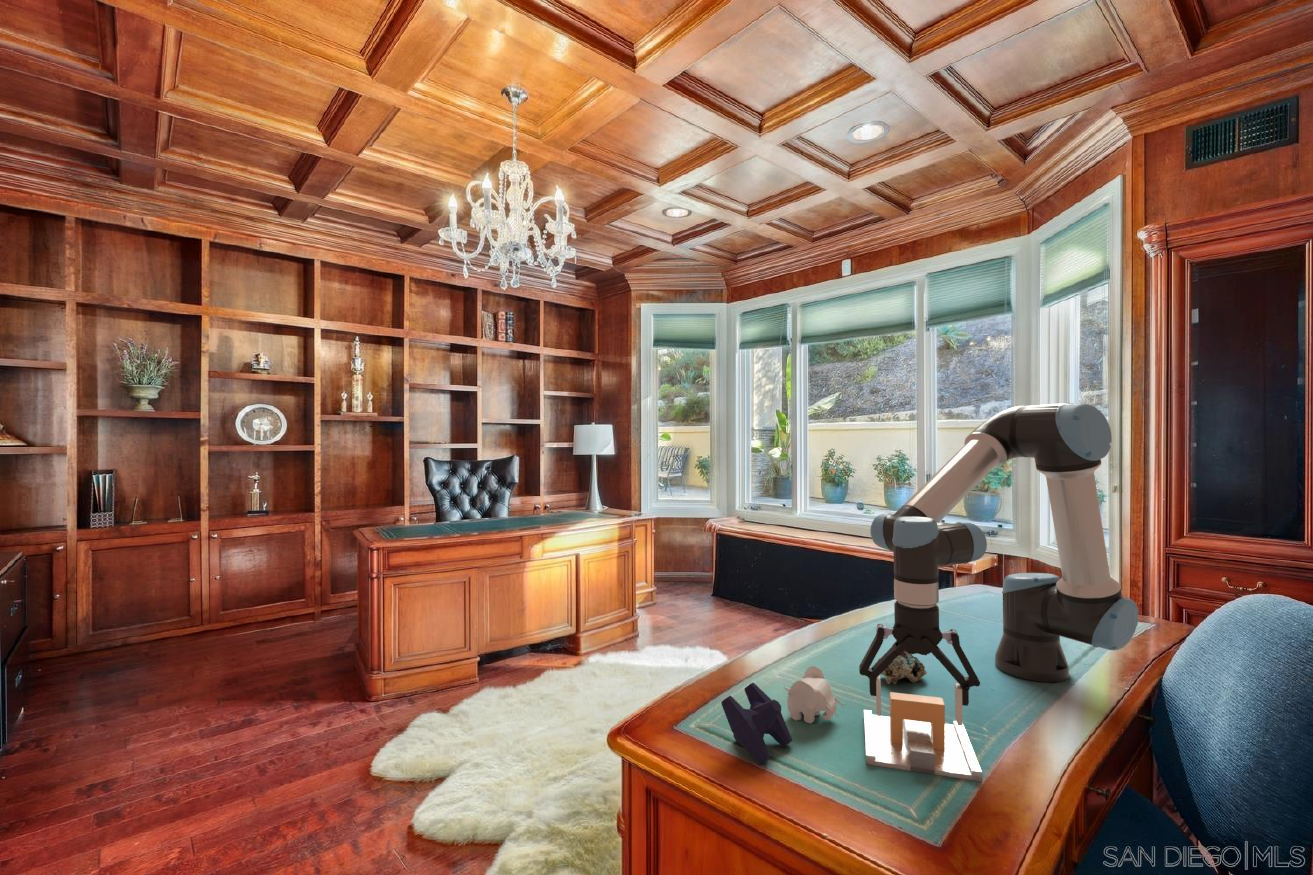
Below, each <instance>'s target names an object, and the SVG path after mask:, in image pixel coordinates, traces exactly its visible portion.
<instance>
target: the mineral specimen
mask: <svg viewBox="0 0 1313 875" xmlns="http://www.w3.org/2000/svg"><path fill="white" fill-rule="evenodd" d="M878 661H879V659H878V660H877V661H876V662H875V663H874V665H875V664H876V663H877V662H878ZM927 674H928V672H927V670H926V669H925V665H924V663H922V661H920V660H919V658H918V657H917V656H914V655H913V654H908V653H907V652H906V651H904V652H903V653H902V654H901V655H900V656H898V657H897V658H896V659H895V660H894V661H893V662H892V663H891V664H890V665H889V666H888V667H887V668H886V669H885V670H884V671H883V672H882V673H881V674H880V675H883V677H885V682H886V683H887V684H888V685H890V684H892V683H893V685H896V684H897V683H898V681H899V680H902V679H905V678H906V679H908V681H909V682H911V683H913V684H915V683H916V682H918V681H920V680H921V679H922V678H923V677H924V676H925V675H927Z"/></svg>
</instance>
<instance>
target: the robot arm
mask: <svg viewBox="0 0 1313 875" xmlns="http://www.w3.org/2000/svg"><path fill="white" fill-rule="evenodd" d="M1112 441H1113V440H1112V430H1111V427H1110V424H1109V421H1108V419H1107V417H1106V416H1105V415H1104V413H1103V412H1102V411H1101V410H1100V409H1098V408H1097V407H1096V406H1094V405H1092V404H1089V403H1074V402H1073V403H1071V402H1064V403H1062V402H1061V403H1048V404H1035V405H1034V404H1033V405H1016V406H1013V407H1009V408H1007V409H1004V410H1002V411H1000V412H998V413H996V414H994V415H993V416H991V417H990V418H988V419H987V420H985V421H983V422H982V423H981V424H979V425H978V426H977V427H976V428H975V429H974V430H972V431H971V432H969V434H968V435H967V436H966V437H965V439H964V443H963V444H964V445H963V447H961V448H960V449H959V450H958V451H957V452H956V453H955V454H954V455H953V456H952V457H951V458H950V459H949V460H948V461H947V462H946V463H945V464H944V465H943V466H941V468H939V470H938V471H937V472H936V473H935V474H933V476H931V478H929V479H928V480H927V481H926V482H925V483H924V484H923V485H922V487H920V488H919V489H917V491H916V492H915V493H913V495H912V496H911V497H910V498H909V499H908V500H907V501H906V502H905V503H904V504H903V505H902V506H901V507H899V509H897V511H895V513H888V512H887V513H881V514H878V515H877V516H875V517H874V518H873V521H872V522H871V526H870V537H871V539H872V541H873V543H874V544H875V545H876V546H877V547H879V548H881V549H884V550H888V551H890V552H892V553H893V591H894V592H893V594H894V595H893V598H894V599H895V602H894V604H893V607H894V614H893V615H894V624H893V627H890V626H884V625H883V624H882V623H878V624H877V625H876V632H875V636H874V638H873V640H872V642H871V644H870V645H869V647H868V649H867V651H866V653H865V655H864V657H863V659H861V660H862V661H861V662H860V664H859V666H858V671H859V675H860V676H866V677H867V678H868V679H869V681H868V682H869V683H868V684H869V694H870V696H871V697H872V696H873V697H875V708H876V712H875V713H876V715H877V716H882V694H881V693H882V692H881V691H882V688H881V686H882V681H881V675H882V674H881V673H882V672H883V671H884V670H885V669H886V668H887V667H888V666H889V665H890V664H891V663H892V662H893V661H894V660H895V659H896V658H897V657H898V656H900V655H901V654H902V653H903V652H904V651H906V652H907V653H908V654H912V655H917V654H918V655H921V656H927V655H930V654H932V655H933V656H934V658H935V659H936V660H938V661H939V663H941V664H940V665H942V666H943V668H945V669H946V671H947V672H948V673H949V674H950V675H951V676H952V677H953V679H954V680H955V681H956V682H954V701H955V702H954V708H955V710H954V711H955V712H954V713H955V714H954V716H955V721H957V724H958V725H960V726H963V725H964V723H963V721H964V720H963V707H964V706H965V707H968V706H969V702H970V696H969V695H970V694H969V692H970V688H972V687H980V686H981V682H980V680H979V678H978V676H977V673H976V672H975V671H974V669H973V667H972V665H971V663H970V661H969V659H968V658H967V656H966V653H965V652H964V650H963V648H962V647H961V642H960V636H959V634H958V632H957V630H956V629H955V628H951V629H949V630H948V631H947V630H946V631H945V630H944V631H942V630H940V608H939V607H940V606H938V603H939V602H940V599H939V598H940V596H939V591H940V590H939V588H940V587H939V568H940V567H941V568H943V567H948V566H955V565H966V564H969V563H971V562H975V561H977V560H978V561H979V560H980V559H981V558H983V557H984V555H985V554H986V551H987V548H988V547H987V545H988V543H987V536H986V535H985V533H984V531H983V530H982V529H981V528H980V527H979V526H978V525H976V524H975V523H971V522H962V521H961V522H959V521H958V522H955V523H949V522H941V521H942V520H943V519H944V518H945V517H946V516H947V515H948V514H949V513H950V512H951V511H952V510H953V509H954V508H955V507H956V506H957V505H958V504H959V503H960V502H961V501H962V500H963V499H964V498H965V496H967V495H968V494H969V493H970V492H971V491H972V490H973V489H974V488H975V486H977V485H978V484H979V483H980V482H981V480H983V478H985V477H986V476H987V475H988V474H989V473H990V471H992V469H997V468H1000V467H1002V466H1003V465H1004V464H1006V463H1007V461H1009V460H1012V459H1017V458H1032V459H1033V458H1034V462H1035V469H1036V470H1037V472H1039V473H1041V474H1043V475H1044V476H1045V478H1046V485H1047V492H1048V497H1049V502H1050V509H1051V516H1052V522H1053V527H1054V533H1055V534H1054V535H1055V540H1056V545H1057V551H1058V558H1059V563H1060V564H1059V565H1060V570H1061V575H1062V576H1061V578H1060V576H1059V575H1056V574H1055V573H1047V572H1046V573H1044V572H1019V573H1018V572H1017V573H1012V574H1008V575H1006V576H1005V577H1004V579H1003V583H1002V584H1003V585H1002V591H1001V594H1002V637H1001V638H1000V641H999V644H998V646H997V648H996V652H995V654H994V665H995V666H996V668H997V669H998V670H1000V671H1001V672H1003V673H1005V674H1008V675H1011V676H1013V677H1016V678H1020V679H1024V680H1028V681H1034V682H1040V683H1058V682H1064V681H1066V680H1068V679H1069V677H1070V666H1069V664H1068V661H1067V658H1066V655H1065V653H1064V649H1063V647H1062V645H1061V639H1060V638H1061V637H1062V638H1066V639H1069V640H1073V641H1075V642H1080V643H1084V644H1087V645H1090V646H1092V647H1093V648H1101V649H1105V650H1110V651H1119V650H1121V649H1124V648H1125V647H1126V646H1127V645H1128V644H1129V643H1130V641H1131V640H1132V638H1133V637H1134V634H1135V632H1136V630H1137V626H1138V622H1139V608H1138V605H1137V603H1136V602H1135V601H1134V600H1133V599H1131V598H1129V597H1127V596H1124V597H1123V594H1122V587H1121V584H1120V582H1118V581H1117V580H1116V579H1114V578H1113V577H1111V574H1110V568H1109V560H1108V555H1107V549H1106V540H1105V534H1104V528H1103V522H1102V516H1101V508H1100V503H1099V497H1098V490H1097V485H1096V478H1095V472H1096V470H1097V469H1099V467H1100V466H1101V465H1102V459H1103V458H1105V457H1106V456H1107V455H1108V454H1109V452H1110V449H1111V447H1112V446H1111V445H1110V444H1111V443H1112ZM891 635H892V637H893V638H894V639H895V640H896V641H895V642H893V644H892V646H891V647H890V648H889V649H888V650H887V651H886V652H885V653H884V654H883V655H882V656H881V657H880V658H878V660H879V661H878V660H877V661H878V662H877V661H876V662H877V663H876V662H875V663H876V664H875V663H874V664H873V665H872V663H873V662H874V660H875V658H876V656H877V654H878V652H879V650H880V649H881V647H882V645H883V643H884V640H887V639H888V638H889V636H891ZM942 640H945V641H946V643H947V644H948V645H952V647H953V650H954V652H955V654H956V656H957V658H958V659H959V661H960V662H961V665H962V667H963V668H964V670H965V672H966V674H967V676H964V675H963V674H962V673H961V671H960V670H959V668H957V667H956V666H955V665H954V664H953V662H952V661H951V660H950V659H949V658H948V657H947V656H946V654H945V653H944V652H943V651H942V649H941V648H940V647H939V646H938V645H939V644H940V643H941V641H942Z"/></svg>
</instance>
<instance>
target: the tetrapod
mask: <svg viewBox="0 0 1313 875" xmlns="http://www.w3.org/2000/svg"><path fill="white" fill-rule="evenodd" d="M743 690H744V693H745V695H746V698H747V701H748V703H749V704H750V707H749V708H744V707H743V706H742V705H741V704H740V703H739V702H738V701H737V700H736V699H735V698H734V697H733V696H731V695H729V696H727V697H726V698H724V699H723V700H721V702H720V703H721V706H722V710H723V711H724V714H725V717H726V719H727V723H728V725H729V727H730V730H731V732H732V734H733V738H734V741H736V742H738V743H739V744H740V746H741V747H743V749H745V750H746V751H747V753H748V754H750V755H751V756H752V758H753V759H754V760H756V762H757V763H758V764H759V765H763V764H764V763H765V762H767V761H768V760H769V759H771V755H770V752H769V749H768V747H767V745H766V743H765V740H764V737H765V734H766V735H770V736H771V738H773V740H775V741H776V742H777V743H778V744H779V745H780V747H782V748H785V747H786V746H787V745H789V744H790V743H791V742H793V738H792V736H791V734H790V733H791V732H790V730H789V729H788V726H787V723H786V721H785V719H784V716H783V715H782V704H780V702H779V701H777V700H776V699H771V697H769V696H768V695H767V694H766V692H764V691H763V690H762V689H761V688H760V687H759V686H758V685H757V684H755V682H752V683H749V684H748V685H747V686H745V687H744V689H743Z"/></svg>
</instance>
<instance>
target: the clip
mask: <svg viewBox="0 0 1313 875" xmlns="http://www.w3.org/2000/svg"><path fill="white" fill-rule="evenodd" d="M945 713H946V704H945V702H944V699H943V697H937V696H931V695H930V696H927V695H921V694H920V695H919V694H911V693H909V694H908V693H902V692H901V693H900V692H892V691H889V717H890V738H891V742H893V743H901V744H903V719H905V720H913V721H921V722H929V723H930V738H931V742H932V746H933V748H938V749H945V724H946V718H945V717H946V714H945Z"/></svg>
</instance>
